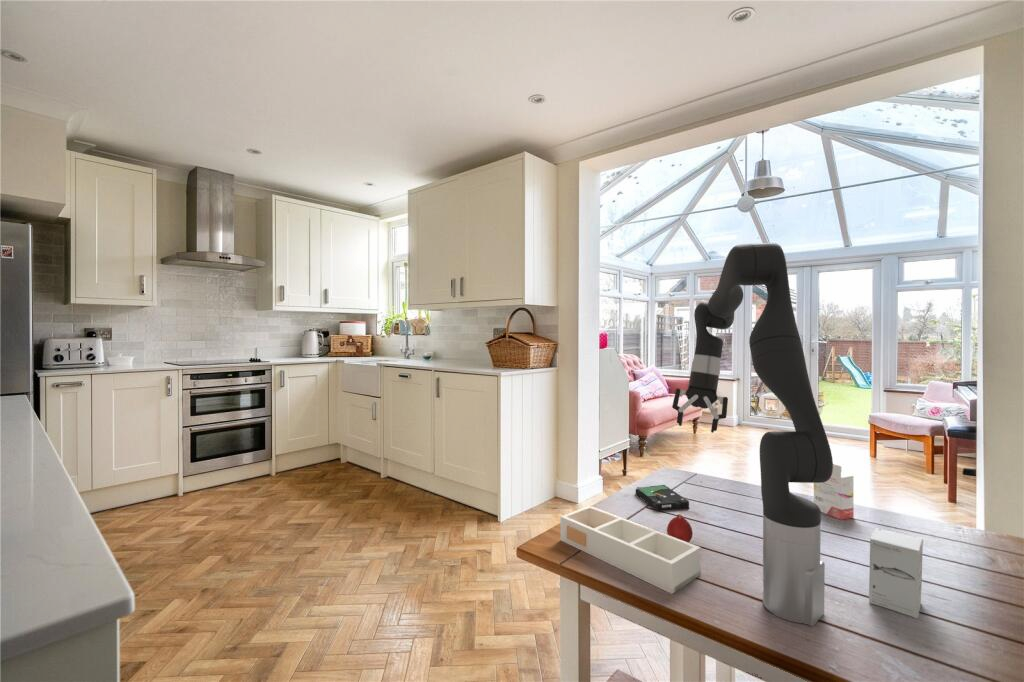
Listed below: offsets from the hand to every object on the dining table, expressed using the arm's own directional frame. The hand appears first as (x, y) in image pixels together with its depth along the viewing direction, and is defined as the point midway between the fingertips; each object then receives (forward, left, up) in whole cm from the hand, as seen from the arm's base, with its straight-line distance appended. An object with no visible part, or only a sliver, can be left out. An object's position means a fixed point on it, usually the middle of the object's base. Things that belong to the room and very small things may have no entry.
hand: (696, 429), depth 131 cm
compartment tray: (-2, +35, -24) cm, 43 cm away
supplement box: (-47, +11, -25) cm, 54 cm away
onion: (-8, +21, -24) cm, 33 cm away
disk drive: (+12, -2, -25) cm, 28 cm away
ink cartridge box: (-25, -30, -25) cm, 46 cm away
